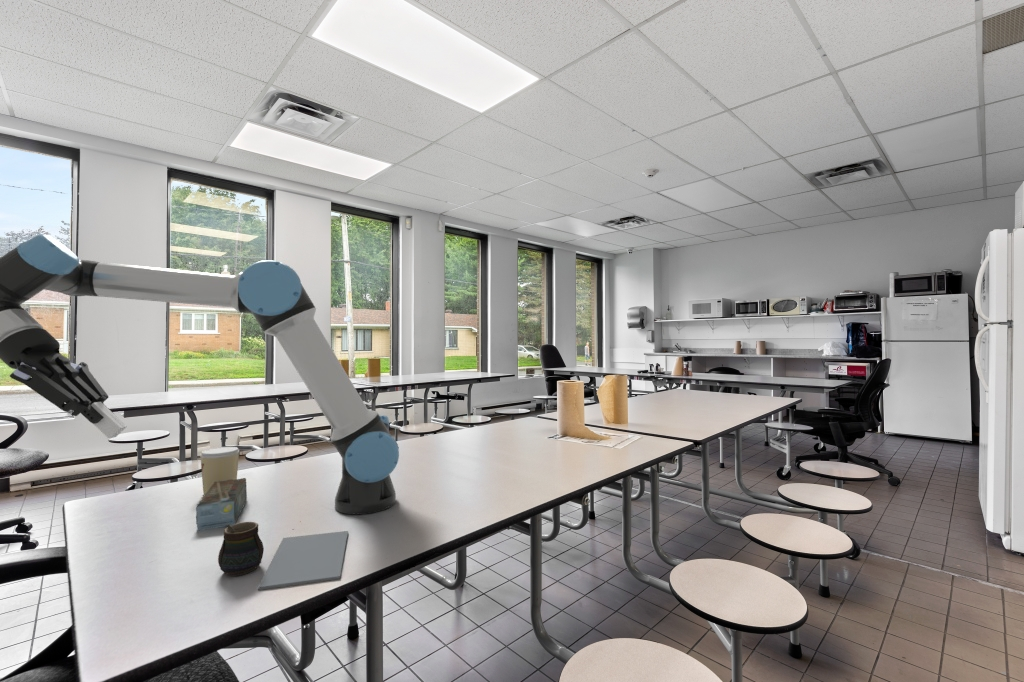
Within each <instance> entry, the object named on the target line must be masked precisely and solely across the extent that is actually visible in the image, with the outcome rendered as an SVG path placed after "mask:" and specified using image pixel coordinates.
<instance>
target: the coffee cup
mask: <svg viewBox="0 0 1024 682" xmlns="http://www.w3.org/2000/svg"><path fill="white" fill-rule="evenodd" d="M239 454H240V449H239V448H238V447H237V446H220V447H219V446H218V447H213V448H207V449H204V450H201V452H200V454H199V455H200V456H199V458H200V469H201V480H202V481H201V482H202V490H203V491H202V492H203V497H204V496H205V494H206V493H207V492H208V490H209V489H210V487H211V486H212V484H213V483H214V482H218V481H227V480H236V479H238V472H239V471H238V468H239V456H240V455H239Z"/></svg>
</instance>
